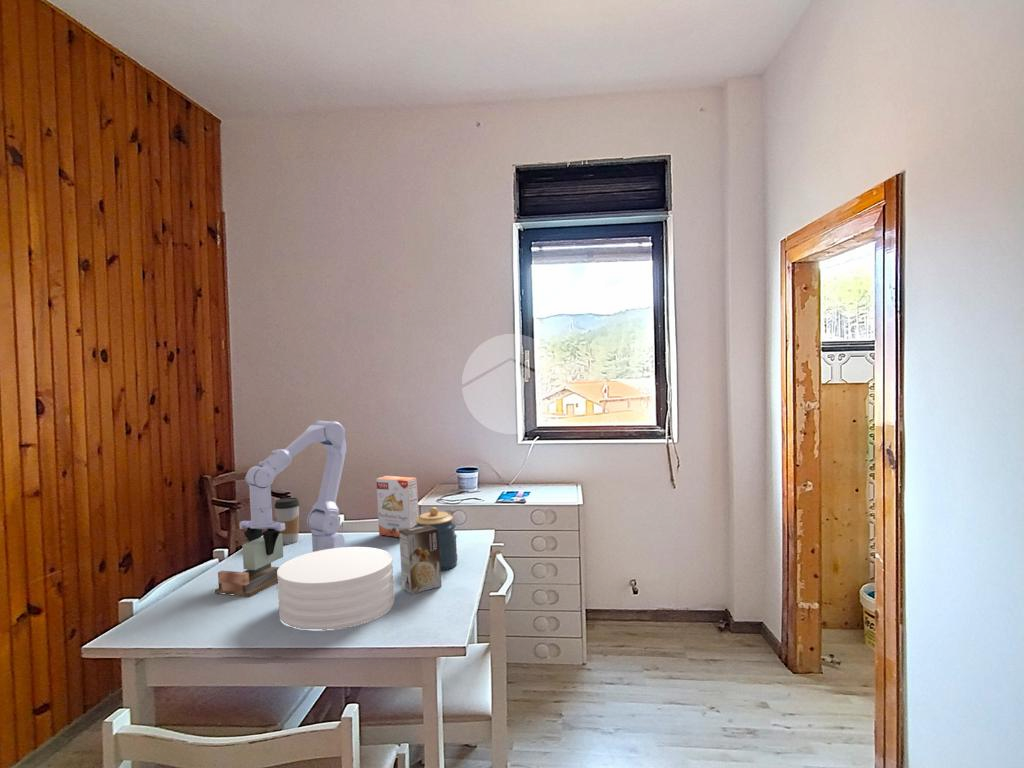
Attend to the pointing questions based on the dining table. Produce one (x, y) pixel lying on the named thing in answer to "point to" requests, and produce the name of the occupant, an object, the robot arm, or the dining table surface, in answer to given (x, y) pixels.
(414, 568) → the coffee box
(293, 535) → the coffee cup
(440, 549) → the canister
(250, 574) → the track
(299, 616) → the plate stack
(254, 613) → the dining table surface
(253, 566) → the pale green block
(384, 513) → the cracker box
